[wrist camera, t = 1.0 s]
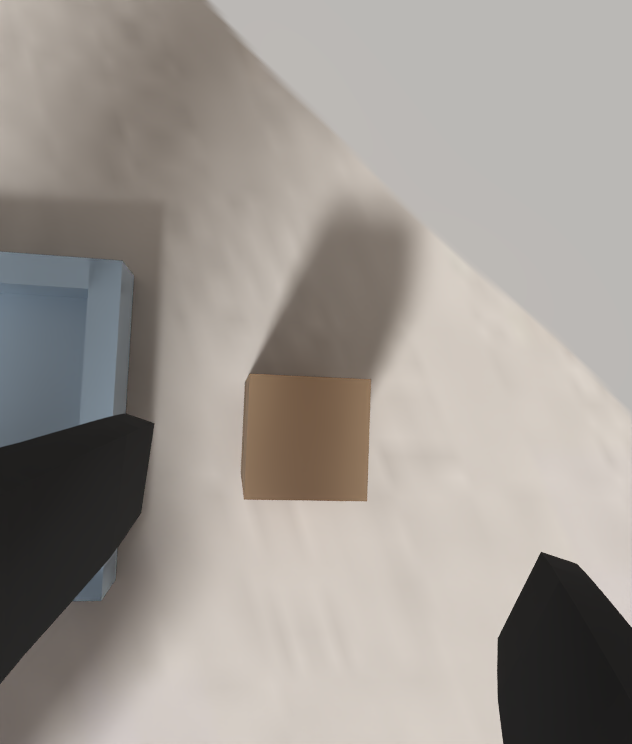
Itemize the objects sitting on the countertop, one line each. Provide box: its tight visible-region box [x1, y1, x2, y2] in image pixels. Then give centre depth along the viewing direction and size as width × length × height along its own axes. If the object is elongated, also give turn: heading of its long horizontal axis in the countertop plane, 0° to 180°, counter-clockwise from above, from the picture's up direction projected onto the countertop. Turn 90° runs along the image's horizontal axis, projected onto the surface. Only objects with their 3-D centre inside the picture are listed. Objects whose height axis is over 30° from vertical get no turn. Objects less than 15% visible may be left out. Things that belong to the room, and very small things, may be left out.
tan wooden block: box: [241, 374, 371, 501], centre depth 22 cm, size 4×4×7 cm
